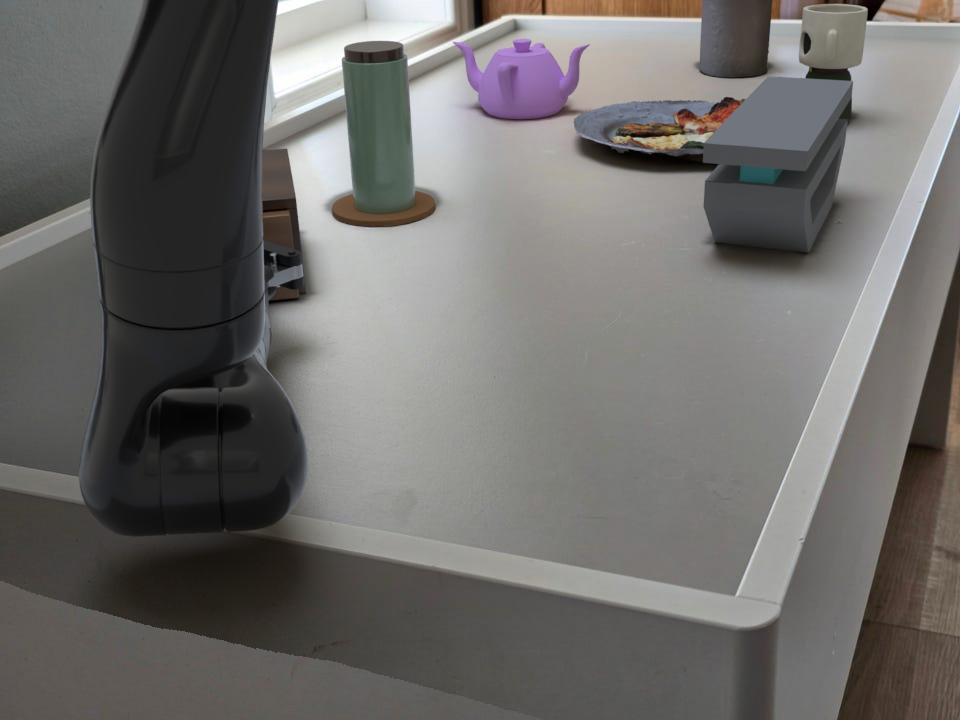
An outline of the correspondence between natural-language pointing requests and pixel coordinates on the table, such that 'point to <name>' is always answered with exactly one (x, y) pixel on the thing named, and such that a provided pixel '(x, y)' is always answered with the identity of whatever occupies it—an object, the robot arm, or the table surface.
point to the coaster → (350, 215)
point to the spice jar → (379, 126)
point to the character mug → (832, 42)
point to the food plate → (656, 125)
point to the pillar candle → (735, 37)
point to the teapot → (522, 80)
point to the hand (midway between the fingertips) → (214, 236)
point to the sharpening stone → (777, 164)
